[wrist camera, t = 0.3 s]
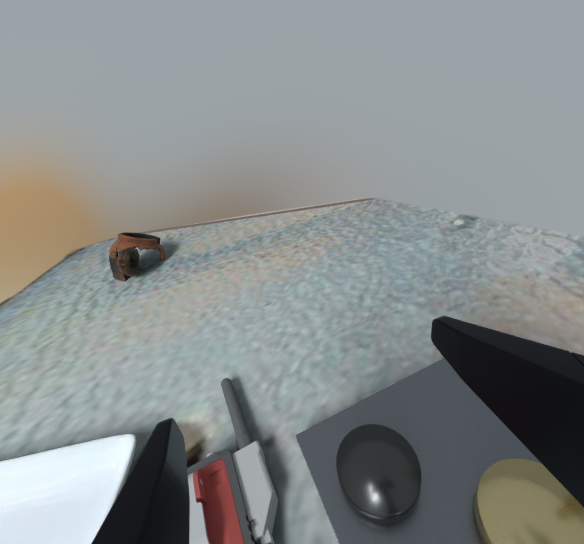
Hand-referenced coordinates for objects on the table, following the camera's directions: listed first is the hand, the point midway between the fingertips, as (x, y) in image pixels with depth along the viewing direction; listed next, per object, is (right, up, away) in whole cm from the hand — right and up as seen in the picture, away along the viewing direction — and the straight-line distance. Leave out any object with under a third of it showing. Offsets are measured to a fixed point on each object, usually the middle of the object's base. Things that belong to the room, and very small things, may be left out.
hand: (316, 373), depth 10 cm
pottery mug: (-30, +4, +47) cm, 56 cm away
